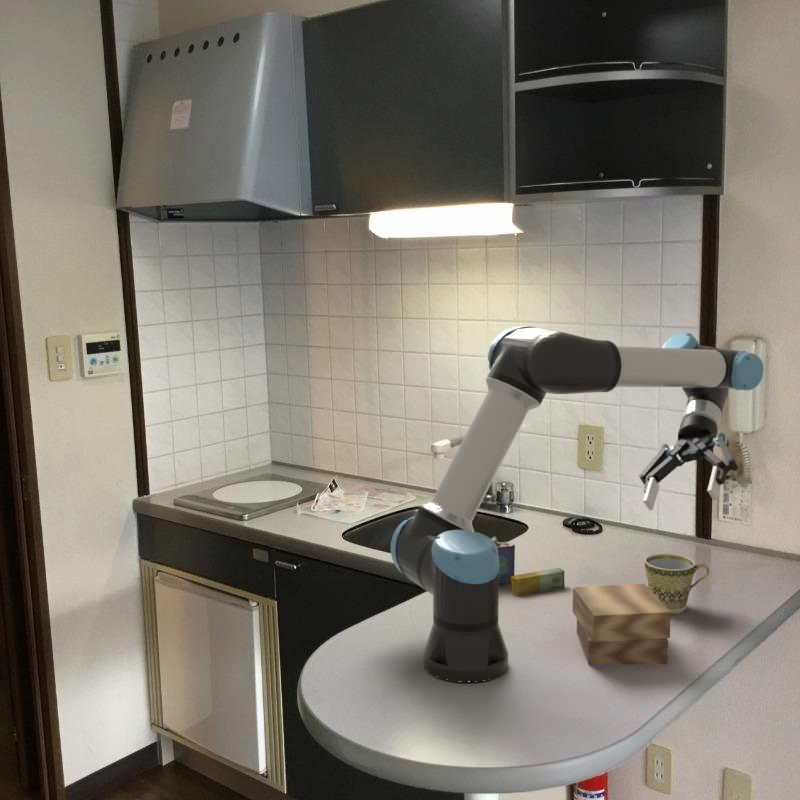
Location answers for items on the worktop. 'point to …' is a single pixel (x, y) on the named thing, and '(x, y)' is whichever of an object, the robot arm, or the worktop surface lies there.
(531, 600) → the worktop surface
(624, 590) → the tower top block
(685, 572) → the ceramic cup
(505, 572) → the flask
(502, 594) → the worktop surface
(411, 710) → the worktop surface
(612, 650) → the tower bottom block
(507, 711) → the worktop surface
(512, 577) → the medication box
